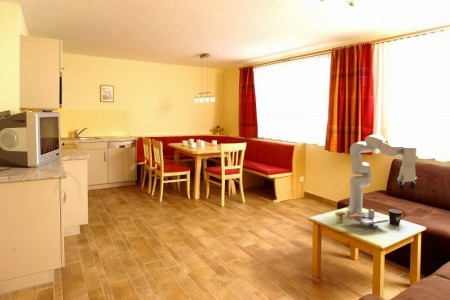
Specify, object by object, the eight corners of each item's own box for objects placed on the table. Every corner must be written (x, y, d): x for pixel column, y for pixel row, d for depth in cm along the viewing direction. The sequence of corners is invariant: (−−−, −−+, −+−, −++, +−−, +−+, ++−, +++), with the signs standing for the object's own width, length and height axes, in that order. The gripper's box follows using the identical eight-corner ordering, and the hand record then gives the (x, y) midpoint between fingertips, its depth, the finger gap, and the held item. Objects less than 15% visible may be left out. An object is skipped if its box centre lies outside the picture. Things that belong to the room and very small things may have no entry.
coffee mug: (388, 225, 223) (389, 212, 222) (387, 221, 231) (387, 208, 230) (406, 227, 219) (407, 214, 218) (404, 223, 227) (405, 210, 226)
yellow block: (334, 222, 229) (335, 212, 228) (342, 221, 231) (342, 211, 230) (337, 223, 226) (337, 213, 225) (344, 222, 228) (345, 212, 227)
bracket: (346, 218, 217) (346, 214, 217) (355, 217, 220) (355, 213, 220) (352, 221, 212) (352, 216, 211) (361, 219, 214) (361, 215, 214)
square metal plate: (346, 223, 226) (347, 208, 224) (368, 220, 233) (369, 205, 231) (364, 232, 209) (365, 216, 207) (387, 228, 216) (389, 212, 214)
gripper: (412, 163, 208) (411, 187, 210) (393, 164, 202) (392, 189, 204) (423, 165, 201) (421, 189, 203) (403, 166, 195) (402, 192, 197)
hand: (406, 189), depth 204 cm, fingers open, 9 cm apart
